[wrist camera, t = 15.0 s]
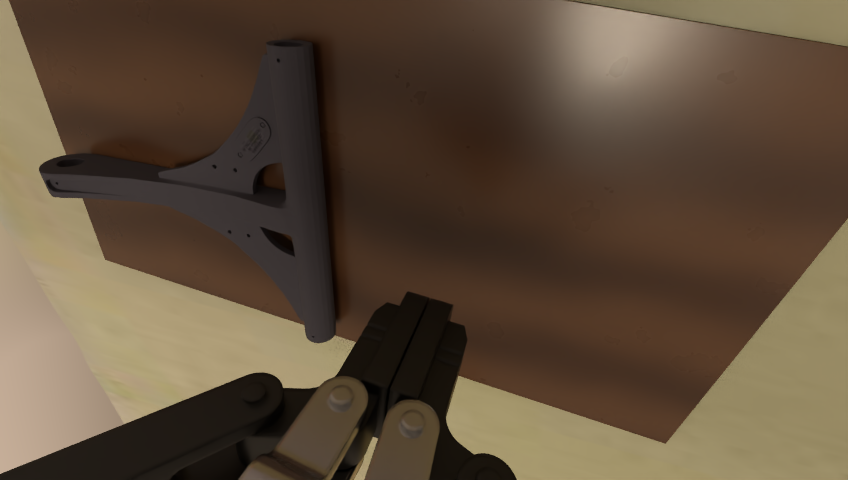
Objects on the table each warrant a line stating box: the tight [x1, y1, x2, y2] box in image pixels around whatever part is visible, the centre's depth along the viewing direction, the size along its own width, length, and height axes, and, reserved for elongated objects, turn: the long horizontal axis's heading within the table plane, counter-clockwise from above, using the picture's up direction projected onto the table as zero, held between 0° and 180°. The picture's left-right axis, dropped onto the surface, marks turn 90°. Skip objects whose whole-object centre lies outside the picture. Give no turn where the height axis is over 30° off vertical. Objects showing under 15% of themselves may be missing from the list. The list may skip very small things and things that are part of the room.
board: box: [9, 0, 848, 444], centre depth 19 cm, size 18×34×1 cm, turn 82°
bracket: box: [39, 40, 336, 343], centre depth 20 cm, size 14×15×3 cm
